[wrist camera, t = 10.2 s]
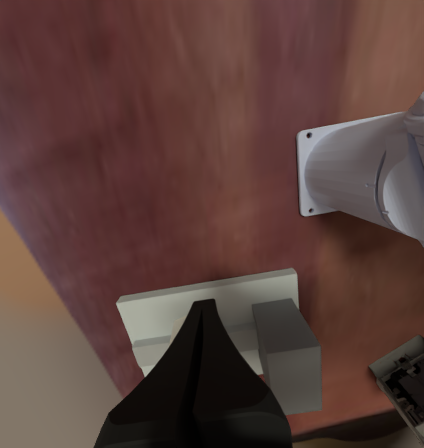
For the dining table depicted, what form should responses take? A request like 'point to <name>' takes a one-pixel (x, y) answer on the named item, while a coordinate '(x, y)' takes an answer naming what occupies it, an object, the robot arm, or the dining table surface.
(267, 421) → the robot arm
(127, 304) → the rail plate
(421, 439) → the electrical switch
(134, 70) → the dining table surface
